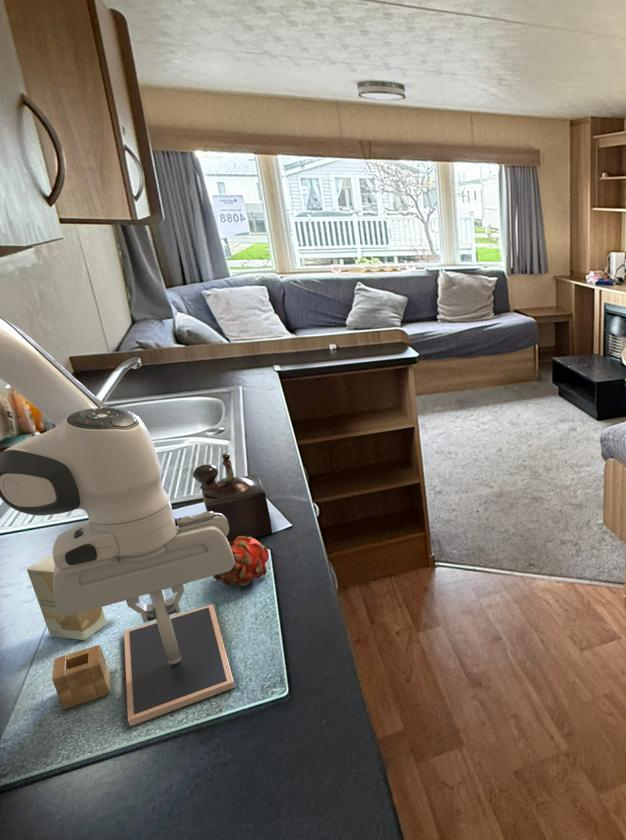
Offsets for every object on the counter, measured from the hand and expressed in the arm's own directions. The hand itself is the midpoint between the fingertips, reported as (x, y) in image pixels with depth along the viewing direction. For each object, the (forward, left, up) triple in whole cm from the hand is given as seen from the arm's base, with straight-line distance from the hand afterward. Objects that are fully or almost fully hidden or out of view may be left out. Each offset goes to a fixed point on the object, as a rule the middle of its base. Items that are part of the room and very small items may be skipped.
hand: (162, 615), depth 91 cm
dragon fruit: (+12, +18, -8) cm, 23 cm away
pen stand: (-10, 0, -8) cm, 13 cm away
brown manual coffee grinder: (+14, +35, -8) cm, 39 cm away
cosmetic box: (-12, +17, -8) cm, 22 cm away
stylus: (0, -2, -7) cm, 7 cm away
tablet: (0, 0, -8) cm, 8 cm away
